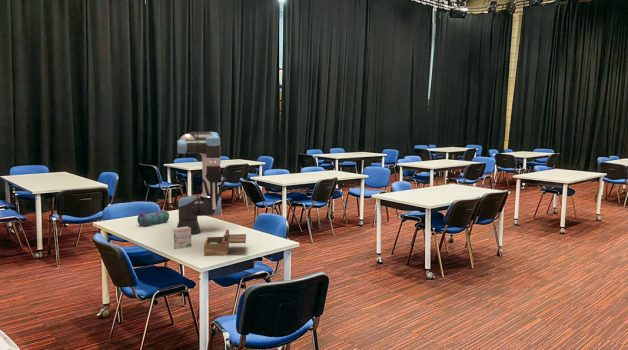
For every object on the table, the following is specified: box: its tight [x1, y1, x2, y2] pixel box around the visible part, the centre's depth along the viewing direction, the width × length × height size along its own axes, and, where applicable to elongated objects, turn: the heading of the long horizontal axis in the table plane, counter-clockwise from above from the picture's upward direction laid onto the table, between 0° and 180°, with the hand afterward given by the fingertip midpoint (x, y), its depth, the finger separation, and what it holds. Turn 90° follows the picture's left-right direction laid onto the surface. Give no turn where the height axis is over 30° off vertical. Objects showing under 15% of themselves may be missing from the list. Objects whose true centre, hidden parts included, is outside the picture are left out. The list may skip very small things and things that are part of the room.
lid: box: [222, 229, 247, 244], centre depth 260 cm, size 17×12×4 cm
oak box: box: [203, 236, 230, 257], centre depth 260 cm, size 16×12×7 cm
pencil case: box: [137, 208, 170, 227], centre depth 330 cm, size 21×9×10 cm, turn 148°
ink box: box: [172, 227, 192, 250], centre depth 269 cm, size 9×5×12 cm, turn 131°
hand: (214, 208), depth 257 cm, fingers closed
